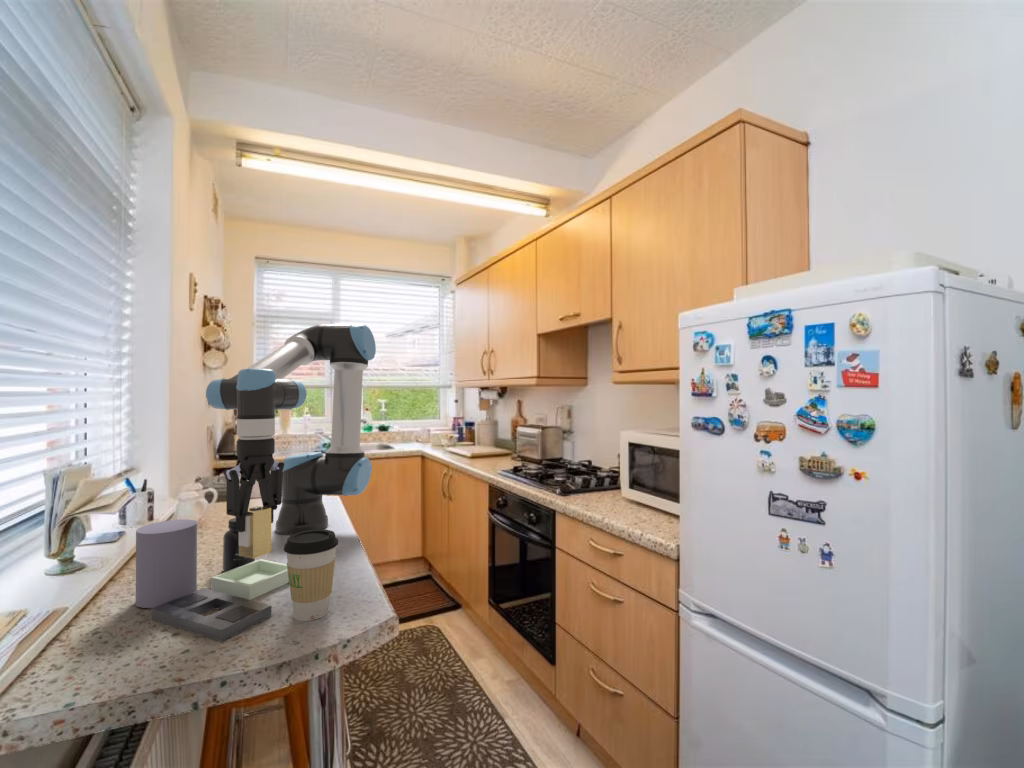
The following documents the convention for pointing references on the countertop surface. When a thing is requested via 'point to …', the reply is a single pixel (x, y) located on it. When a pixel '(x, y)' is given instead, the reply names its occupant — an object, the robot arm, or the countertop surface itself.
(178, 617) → the slotted grey trivet
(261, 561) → the tray
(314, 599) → the coffee cup
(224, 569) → the supplement bottle
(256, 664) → the countertop surface
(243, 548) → the upright wooden post
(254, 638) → the countertop surface
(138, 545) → the container
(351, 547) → the countertop surface
